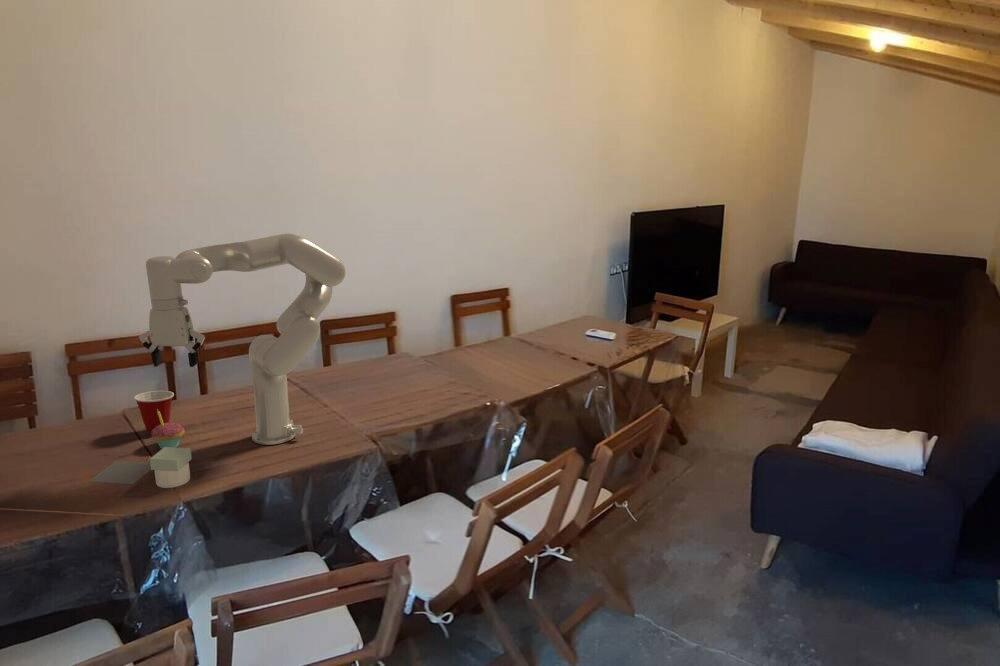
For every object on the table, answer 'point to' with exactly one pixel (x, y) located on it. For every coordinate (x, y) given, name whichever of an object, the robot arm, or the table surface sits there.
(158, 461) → the block
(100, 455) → the table surface
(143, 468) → the mat
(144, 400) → the plastic cup
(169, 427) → the cupcake
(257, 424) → the robot arm
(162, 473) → the bowl
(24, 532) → the table surface
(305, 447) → the table surface
